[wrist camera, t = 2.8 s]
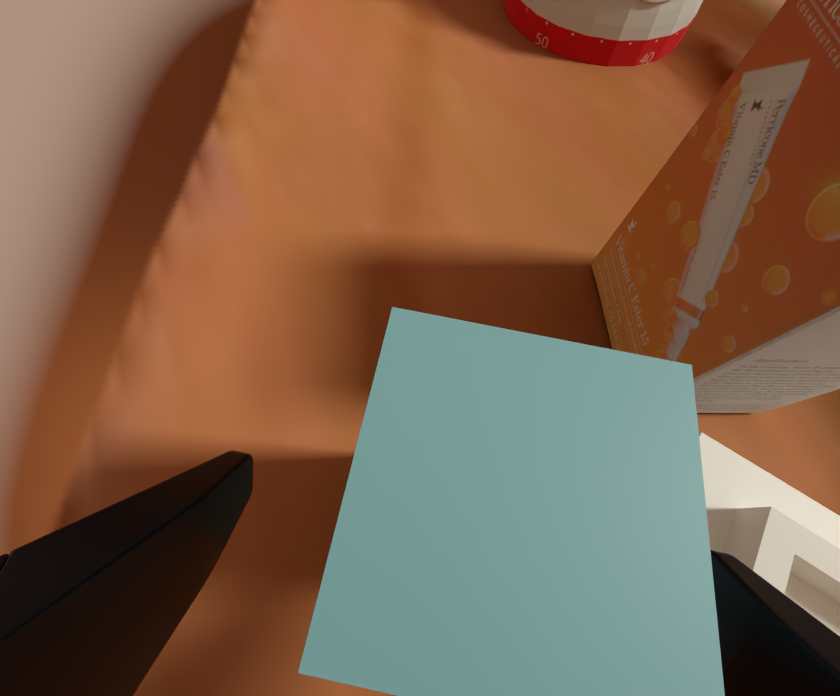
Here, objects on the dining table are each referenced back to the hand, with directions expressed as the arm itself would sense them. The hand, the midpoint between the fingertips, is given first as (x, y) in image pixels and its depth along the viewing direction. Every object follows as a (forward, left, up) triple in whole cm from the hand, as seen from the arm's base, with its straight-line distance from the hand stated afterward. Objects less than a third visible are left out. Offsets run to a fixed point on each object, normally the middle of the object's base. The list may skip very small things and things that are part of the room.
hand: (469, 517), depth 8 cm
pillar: (0, 0, -8) cm, 8 cm away
